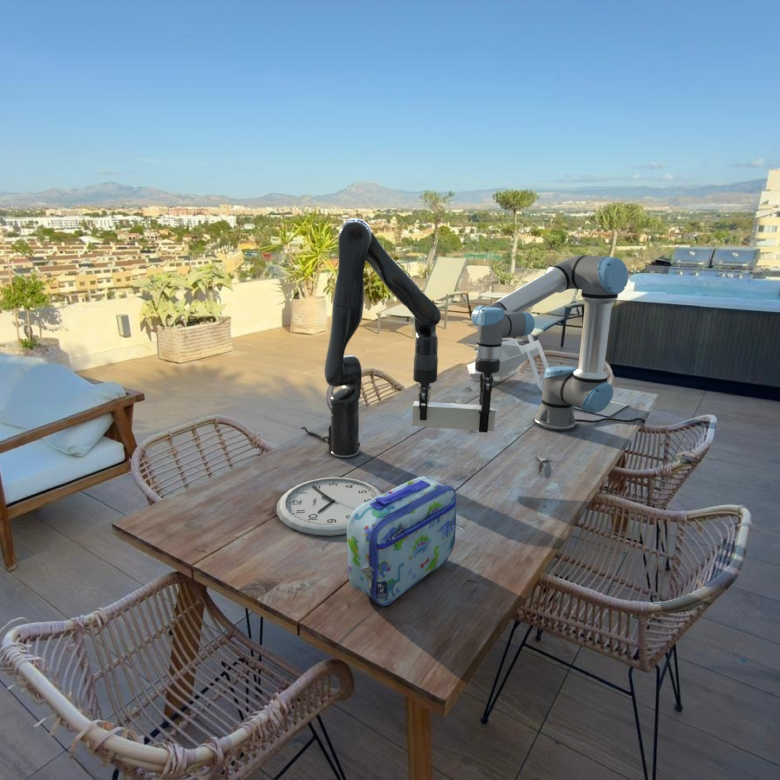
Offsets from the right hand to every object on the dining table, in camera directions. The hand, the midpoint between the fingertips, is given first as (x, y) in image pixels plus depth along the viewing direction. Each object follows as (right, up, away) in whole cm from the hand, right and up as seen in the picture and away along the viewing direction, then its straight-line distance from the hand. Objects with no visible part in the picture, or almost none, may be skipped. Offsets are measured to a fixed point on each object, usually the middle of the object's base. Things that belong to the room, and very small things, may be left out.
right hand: (482, 428), depth 168 cm
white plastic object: (+27, +14, +85) cm, 90 cm away
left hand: (-19, +4, +1) cm, 19 cm away
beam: (-10, +1, +1) cm, 10 cm away
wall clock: (-46, -19, -25) cm, 56 cm away
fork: (+19, -12, +1) cm, 23 cm away
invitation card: (+62, +5, +58) cm, 85 cm away
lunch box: (-27, -29, -54) cm, 67 cm away
